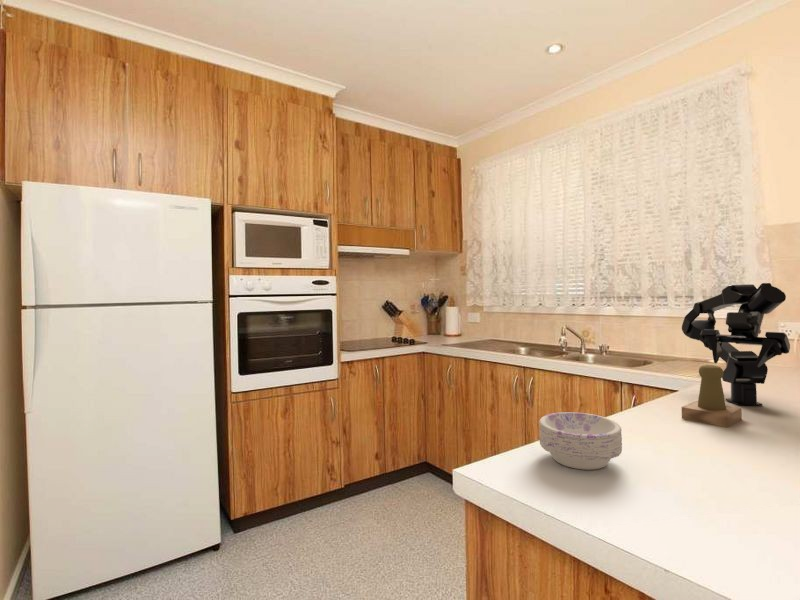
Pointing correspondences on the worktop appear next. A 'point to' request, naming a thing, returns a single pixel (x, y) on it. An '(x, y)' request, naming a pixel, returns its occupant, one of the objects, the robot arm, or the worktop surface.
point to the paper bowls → (580, 439)
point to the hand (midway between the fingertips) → (735, 364)
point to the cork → (711, 388)
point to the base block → (712, 415)
